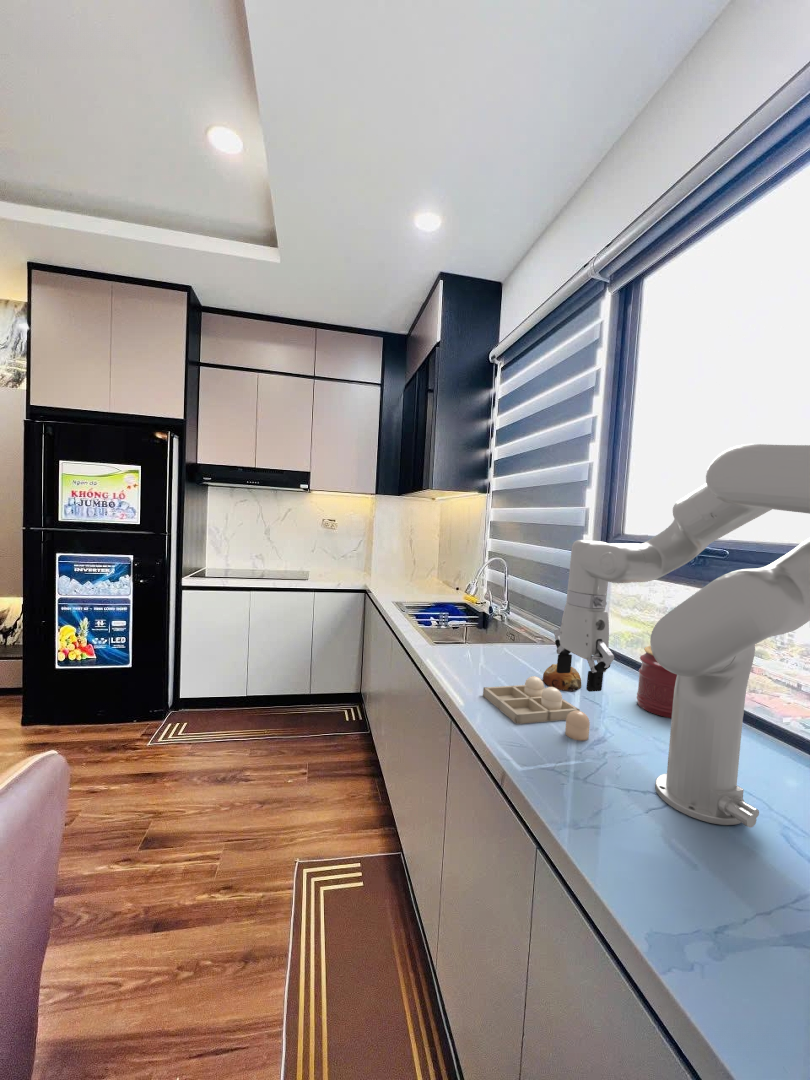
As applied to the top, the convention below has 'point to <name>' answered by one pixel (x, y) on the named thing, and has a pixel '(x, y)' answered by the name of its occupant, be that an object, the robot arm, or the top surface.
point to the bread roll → (562, 679)
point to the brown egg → (577, 725)
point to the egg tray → (524, 705)
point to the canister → (655, 686)
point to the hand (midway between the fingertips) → (577, 681)
